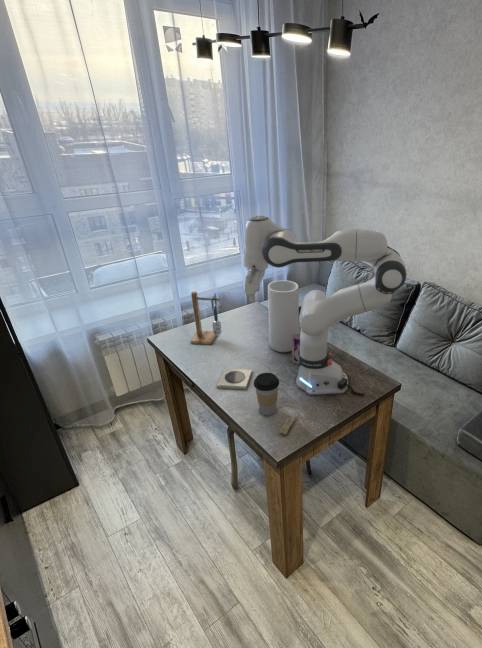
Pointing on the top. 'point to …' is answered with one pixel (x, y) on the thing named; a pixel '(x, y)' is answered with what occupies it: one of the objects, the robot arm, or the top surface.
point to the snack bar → (287, 425)
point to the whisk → (215, 317)
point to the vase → (283, 314)
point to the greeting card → (295, 348)
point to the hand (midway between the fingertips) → (254, 295)
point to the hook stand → (200, 335)
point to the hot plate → (234, 378)
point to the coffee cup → (267, 392)
